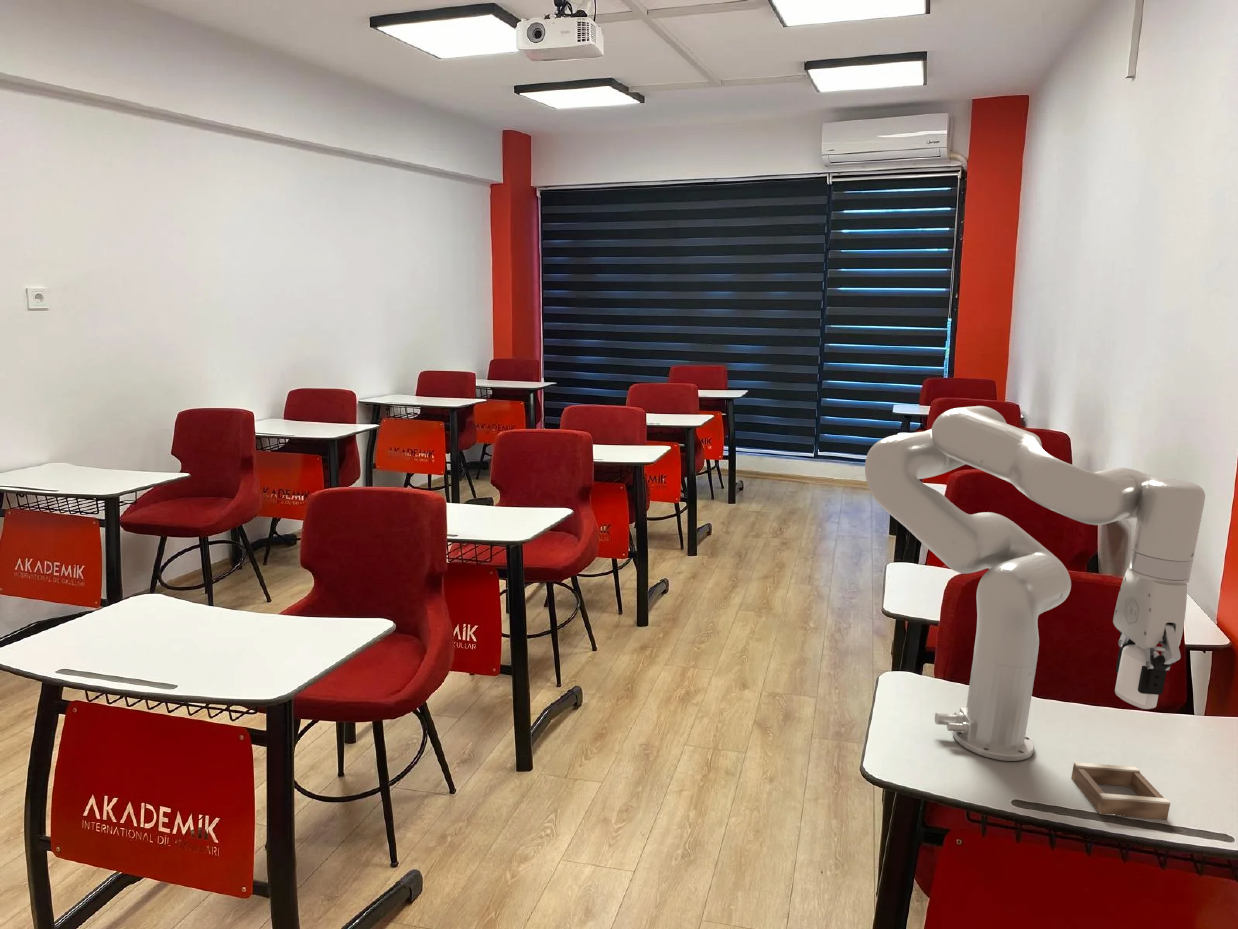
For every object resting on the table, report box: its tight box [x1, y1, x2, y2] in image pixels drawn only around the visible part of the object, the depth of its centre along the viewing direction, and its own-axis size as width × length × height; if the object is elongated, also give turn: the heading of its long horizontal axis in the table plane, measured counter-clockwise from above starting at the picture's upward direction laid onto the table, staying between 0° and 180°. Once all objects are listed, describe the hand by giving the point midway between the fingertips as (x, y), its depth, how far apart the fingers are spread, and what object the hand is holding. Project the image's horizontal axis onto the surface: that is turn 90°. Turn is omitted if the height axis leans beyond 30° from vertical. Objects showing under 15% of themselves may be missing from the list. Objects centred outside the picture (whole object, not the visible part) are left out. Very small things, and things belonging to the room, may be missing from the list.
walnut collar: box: [1070, 761, 1171, 821], centre depth 131 cm, size 10×10×3 cm
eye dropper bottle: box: [1114, 644, 1160, 710], centre depth 127 cm, size 4×6×12 cm
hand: (1138, 682), depth 128 cm, fingers closed on eye dropper bottle, 5 cm apart
